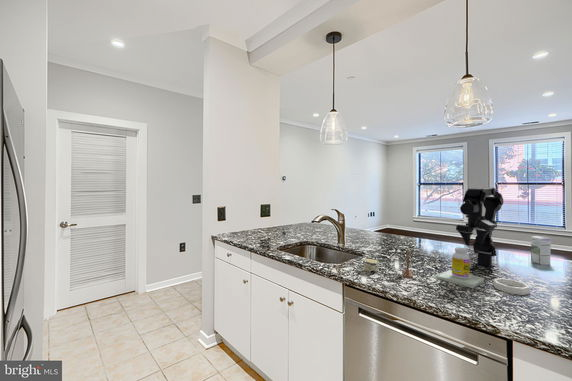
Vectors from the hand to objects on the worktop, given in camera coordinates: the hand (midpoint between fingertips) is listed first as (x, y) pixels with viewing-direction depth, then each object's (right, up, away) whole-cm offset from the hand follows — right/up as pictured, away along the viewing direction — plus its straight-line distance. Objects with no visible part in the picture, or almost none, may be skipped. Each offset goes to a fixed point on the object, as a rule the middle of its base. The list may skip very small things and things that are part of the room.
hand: (474, 244), depth 130 cm
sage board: (-15, -13, -12) cm, 23 cm away
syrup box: (+46, -13, +14) cm, 50 cm away
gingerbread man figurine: (-36, -13, -6) cm, 39 cm away
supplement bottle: (-15, -12, -12) cm, 22 cm away
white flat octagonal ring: (-1, -14, -22) cm, 26 cm away
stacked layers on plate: (-52, -13, -1) cm, 53 cm away
